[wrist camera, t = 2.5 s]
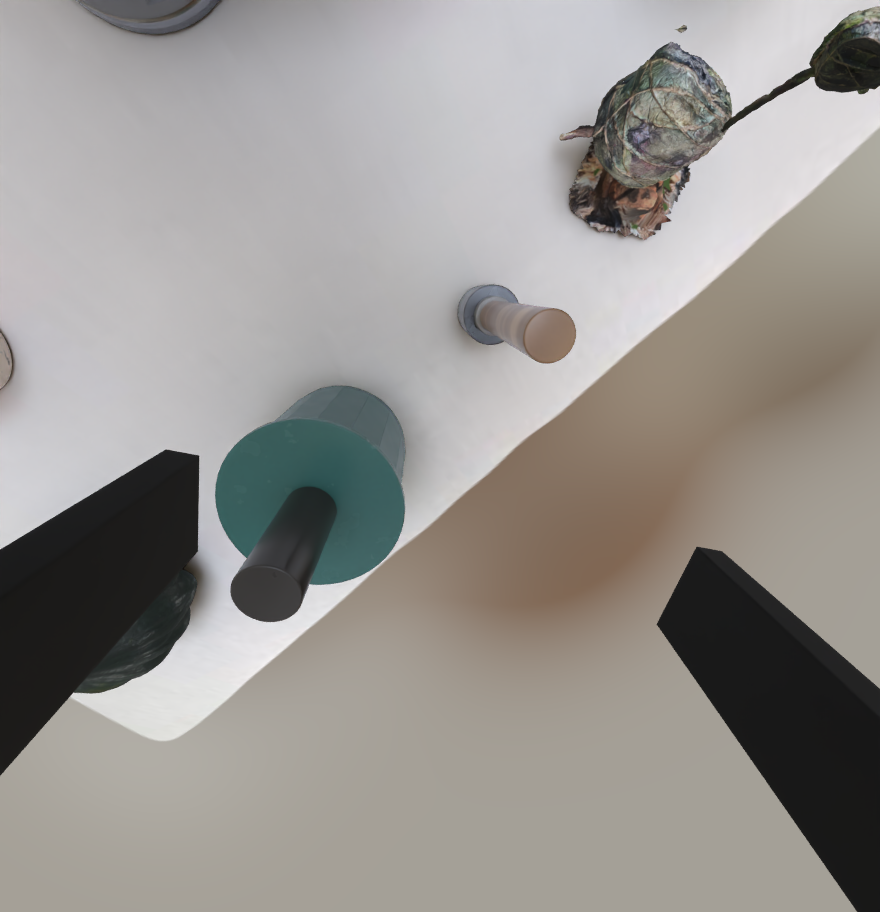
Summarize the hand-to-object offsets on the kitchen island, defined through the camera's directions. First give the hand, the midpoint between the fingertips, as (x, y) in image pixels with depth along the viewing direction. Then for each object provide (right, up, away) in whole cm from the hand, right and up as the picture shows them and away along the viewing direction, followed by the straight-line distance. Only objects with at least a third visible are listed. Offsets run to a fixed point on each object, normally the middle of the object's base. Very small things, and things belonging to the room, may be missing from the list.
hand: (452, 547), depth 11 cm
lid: (-9, -1, +19) cm, 21 cm away
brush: (+4, +15, +27) cm, 31 cm away
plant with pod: (+14, +25, +23) cm, 37 cm away
